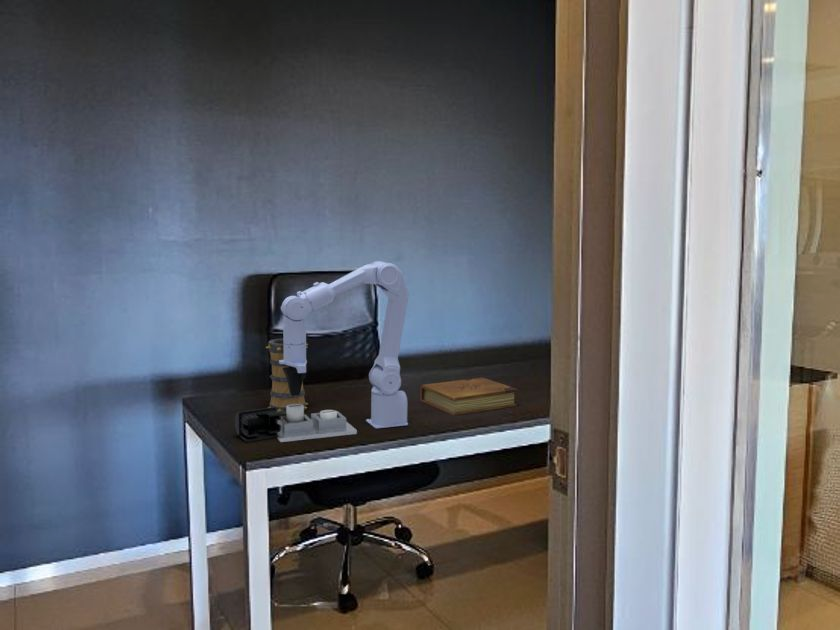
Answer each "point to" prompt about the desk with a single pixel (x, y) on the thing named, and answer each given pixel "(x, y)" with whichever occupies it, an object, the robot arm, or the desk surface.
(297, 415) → the knob
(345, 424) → the mount
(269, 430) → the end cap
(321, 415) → the knob
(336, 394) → the desk surface
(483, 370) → the desk surface
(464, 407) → the diary
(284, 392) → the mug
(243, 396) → the desk surface
